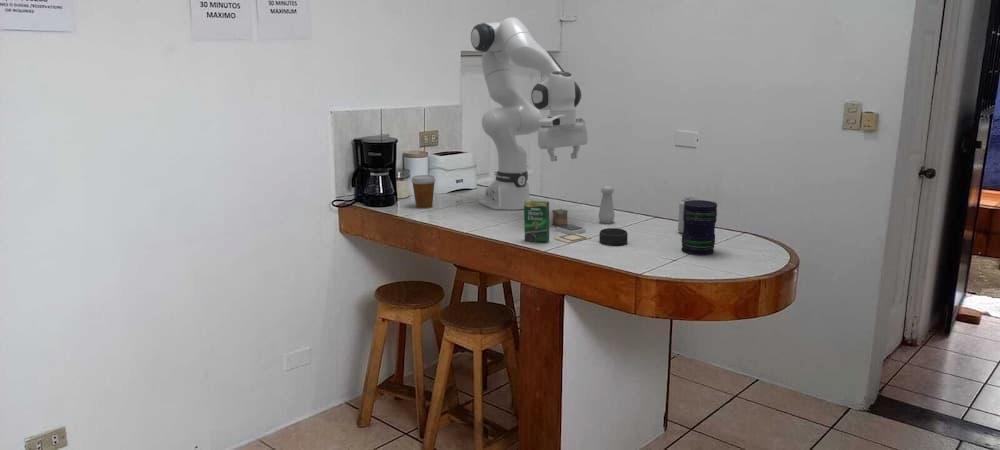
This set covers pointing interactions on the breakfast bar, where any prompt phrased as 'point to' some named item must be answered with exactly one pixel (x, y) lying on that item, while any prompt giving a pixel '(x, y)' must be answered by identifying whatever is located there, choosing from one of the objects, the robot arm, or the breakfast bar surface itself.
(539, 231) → the coffee box
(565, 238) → the card
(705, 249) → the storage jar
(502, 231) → the breakfast bar surface
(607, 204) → the salt shaker
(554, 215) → the stamp
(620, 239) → the smart speaker
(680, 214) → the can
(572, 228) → the ink pad
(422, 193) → the disposable coffee cup
